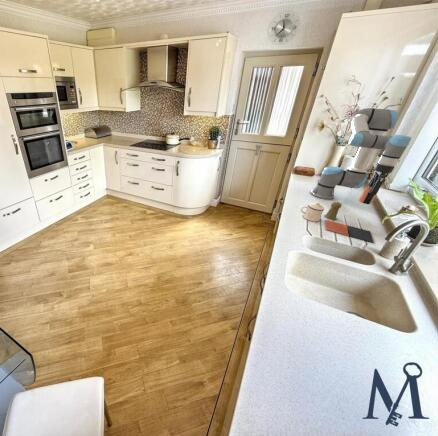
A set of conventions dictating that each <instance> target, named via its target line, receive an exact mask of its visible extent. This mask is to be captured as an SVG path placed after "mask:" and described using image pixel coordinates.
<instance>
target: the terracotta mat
mask: <svg viewBox="0 0 438 436" xmlns="http://www.w3.org/2000/svg"><path fill="white" fill-rule="evenodd" d="M347 226H348V225H347V224H344V223H340V222H336V221H333V220H330V219H325V230H326V231H329V232H332V233H335V234H339V235H343V236H346V237H350V236H349V232H348V227H347Z"/></svg>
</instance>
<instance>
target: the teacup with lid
mask: <svg viewBox="0 0 438 436" xmlns="http://www.w3.org/2000/svg"><path fill="white" fill-rule="evenodd" d="M303 209H306V210H305V211H303ZM324 211H325V207H324V206H323V205H321V202H318V201H316V202H310V203H308V204H307V206H306V205H303V206H301V207H300V212H301V213H302V214H303V218H304V219H305V220H307V221H310V222H315V223H316V222H319V220H321V219H320V218H321V216H322V214H323V212H324Z"/></svg>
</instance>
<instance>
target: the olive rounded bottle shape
mask: <svg viewBox="0 0 438 436" xmlns="http://www.w3.org/2000/svg"><path fill="white" fill-rule="evenodd" d="M330 206H331V207H330V208H329V209H328V211H327V212H326V214H325V215H324V218H326V219H327V220H330V221H335V220H336V219H337V215H338V213H339V210H340V209H341V208H342V204H341V203H340V202H338V201H333V202H332V203H331V205H330Z"/></svg>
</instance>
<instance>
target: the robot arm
mask: <svg viewBox="0 0 438 436" xmlns="http://www.w3.org/2000/svg"><path fill="white" fill-rule="evenodd" d="M398 117H399V113H398V110H396V109H389V108H373V107H366V108H361V109H360V110H357V111H355V112H354V113H353V114H352V115H351V116H350V117H349V118H348V119H349V120H348V125H349V126H350V128H351V131H352V134H351V136H350V138H349V140H348V145H349V146H351V147H355V148H358V150H357V152H356V154H355V156H354V158H353V160H352V162H351V165H350V166H349V167H347V168H346V170H344V168H343V167H340V166H326V167H324V169H323V170H322V172H321V173H320V174H319V175H320V177H319V179H318V182H317V184H316V185H315V186H314V187H313V188H312V189H311V191H310V194H311V195H312V196H314V197H316V198H319V199H323V200H332V199H333V198H334V197H335V188H336V186H339V187H345V188H349V189H355V190H356V189H357V190H358V189H360V188H362V187H363V186H364V185H365V184H366V182H367V180H368V178H369V174H367V173H368V171H367V170H366V169H367V167H368V165H369V163H370V161H371V159H372V158H373V155H374V153H375V151H376V150H382V151H383V152H382V154H381V156H380V157H379V159H378V161H377V163H376V165H375V167H374V168H373V170H374V171H375V172H374V173H373V175H372V177H371V179H370V180H369V182H368V184H367V185H366V187H372V188H371V190H370V192H368V195H367V196H366V198H365V200H364V202H363V203H362V204H364V205H370V204H369V203H370V201H371V200H372V198H373V196H374V195H376V196H377V194H378V193H379V191H380V189H381V187H382V185H383V183H384V182H385V181H386V174H392V173H393V171H394V169H395V166H397V164H398V163H399V162H400V159H401V157H402V156H403V154H404V152H405V151H406V149H407V147H408V146H409V145H410V142H411V140H412V137H411V136H409V135H403V134H394V135H384V134H386V133H388V132H389V130H392V129H394V127H395V126H396V123H397V121H398ZM378 190H379V191H378ZM377 192H378V193H377Z"/></svg>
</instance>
